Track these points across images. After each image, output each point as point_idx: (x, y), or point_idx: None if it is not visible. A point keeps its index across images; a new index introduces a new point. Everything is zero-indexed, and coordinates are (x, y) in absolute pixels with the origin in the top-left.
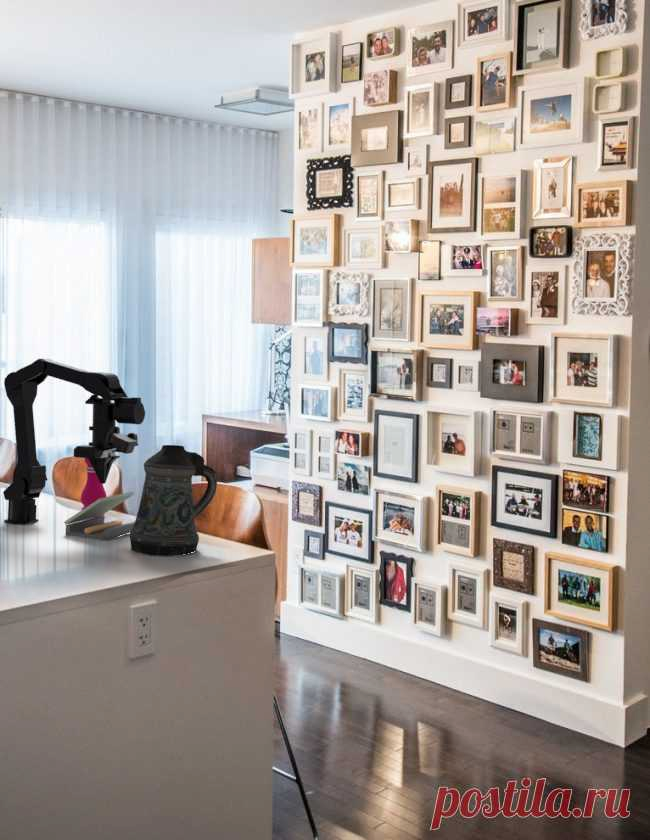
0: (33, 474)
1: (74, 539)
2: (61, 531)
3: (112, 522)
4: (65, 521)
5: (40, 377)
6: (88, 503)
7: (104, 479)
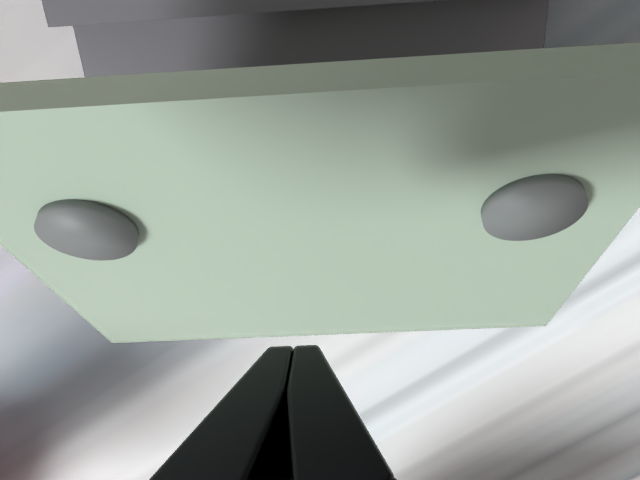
0: None
1: None
2: (431, 345)
3: None
4: (548, 318)
5: None
6: None
7: (321, 373)
